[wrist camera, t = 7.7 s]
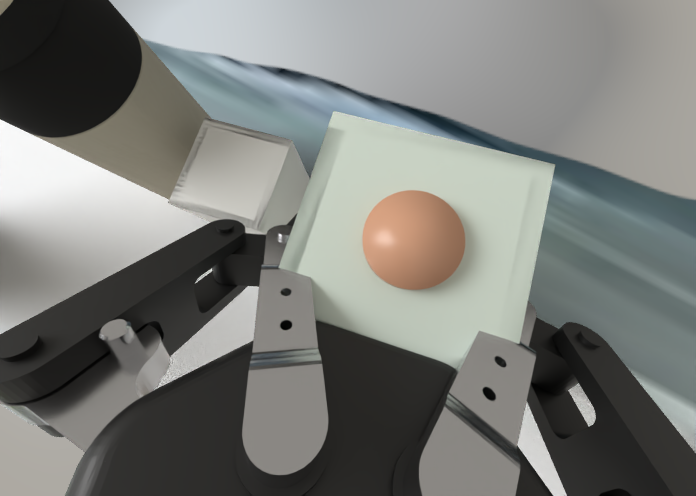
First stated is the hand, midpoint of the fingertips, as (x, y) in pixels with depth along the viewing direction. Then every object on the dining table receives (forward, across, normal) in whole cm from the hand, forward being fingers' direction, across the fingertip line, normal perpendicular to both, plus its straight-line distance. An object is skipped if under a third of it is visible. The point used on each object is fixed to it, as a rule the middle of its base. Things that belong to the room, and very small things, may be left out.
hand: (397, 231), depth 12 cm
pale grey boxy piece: (+2, 0, +4) cm, 5 cm away
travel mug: (+11, +19, +6) cm, 23 cm away
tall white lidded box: (+10, +11, +8) cm, 16 cm away
